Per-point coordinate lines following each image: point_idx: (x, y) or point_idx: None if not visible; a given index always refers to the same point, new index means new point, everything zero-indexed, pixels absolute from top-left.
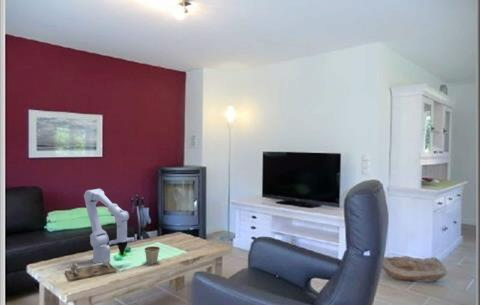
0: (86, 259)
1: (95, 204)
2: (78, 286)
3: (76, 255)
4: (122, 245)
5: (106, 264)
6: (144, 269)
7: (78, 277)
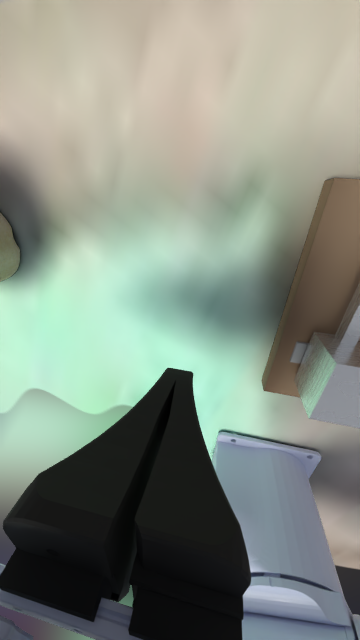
0: None
1: None
2: None
3: None
4: (149, 503)
5: (354, 342)
6: (54, 83)
7: None
